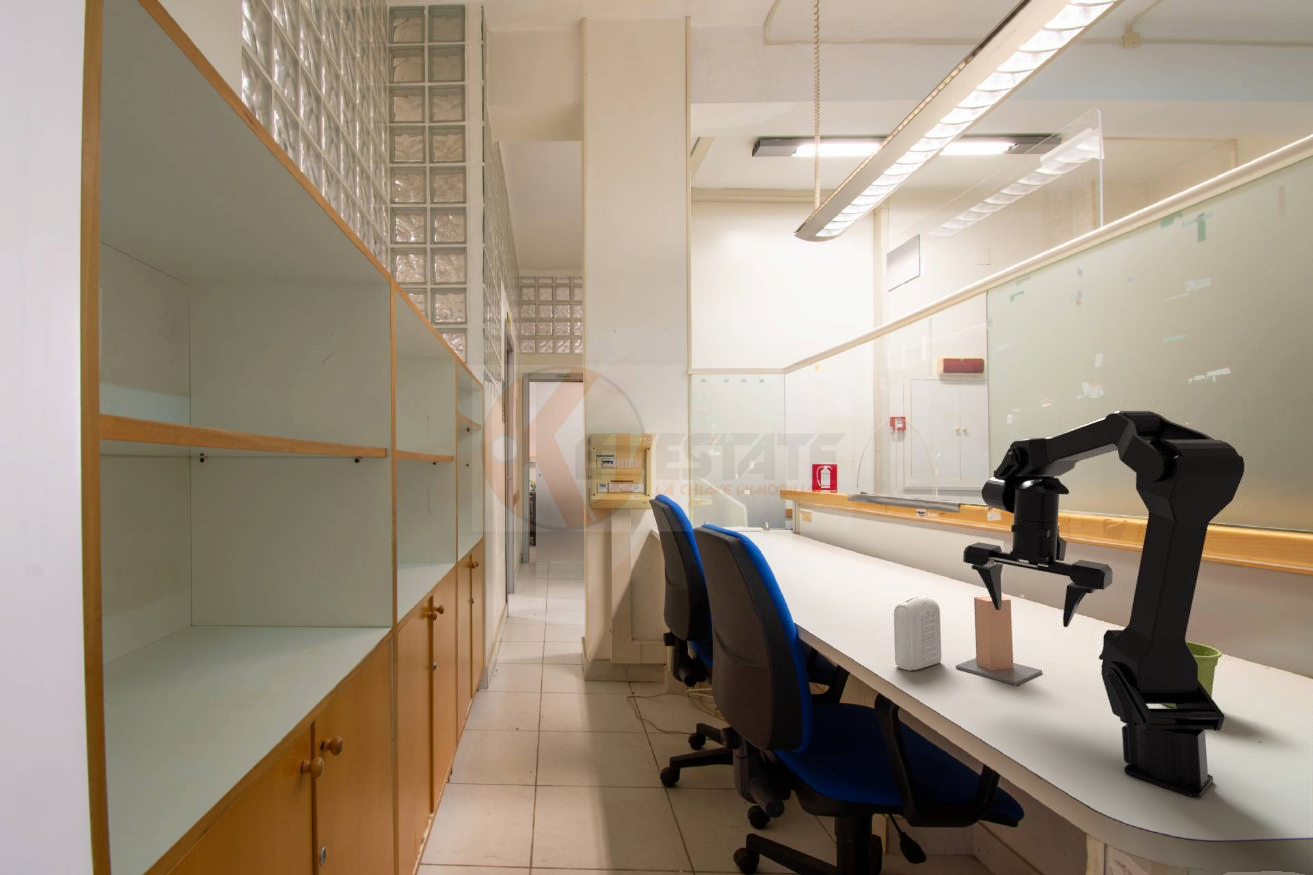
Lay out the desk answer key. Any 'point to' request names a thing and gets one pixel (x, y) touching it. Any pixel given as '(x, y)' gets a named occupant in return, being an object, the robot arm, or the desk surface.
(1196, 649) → the plant pot
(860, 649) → the desk surface
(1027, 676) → the pad
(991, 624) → the tan rectangular block
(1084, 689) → the desk surface
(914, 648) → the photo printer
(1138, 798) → the desk surface
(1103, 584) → the robot arm
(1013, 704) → the desk surface
